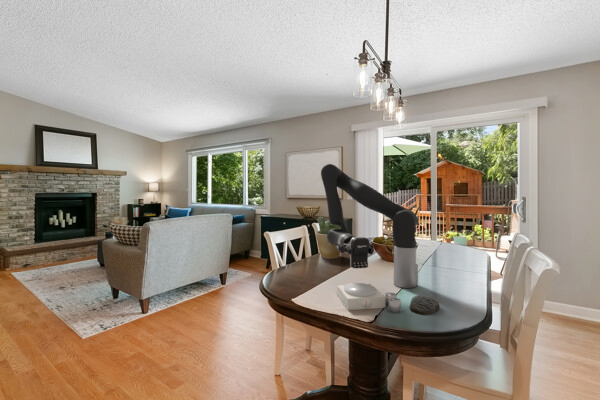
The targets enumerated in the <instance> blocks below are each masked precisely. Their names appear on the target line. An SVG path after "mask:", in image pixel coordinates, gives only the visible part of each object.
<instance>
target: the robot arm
mask: <svg viewBox="0 0 600 400" xmlns="http://www.w3.org/2000/svg"><path fill="white" fill-rule="evenodd" d="M320 170H321V171H320V176H321V177H320V178H321V180H322V183H323V187H324V192H325V197H326V201H327V202H326V203H327V210H328V211H327V212H328V221H329V222H330V224H333V225H338V226H339V227H340V229H333V230H330V231H329V232H328V234H327V239H328V241H329V243H330V244H332V245H336V246H337V250H338V251H339V252H341V253H340V254H343V253H345V254H349V256H350V255H353V249H352V248H350V241H351V239H352V238H354V237H356V236H355V235H352V234H351V233H349V230H348V228H347V225H346V223H345V220H344V212H343V205H342V201H341V198H340V196H339V191H338V188H339V189H340V190H342V191H344V192H345V193H347V195H349V196H350V197H351V198H352V199H353V200H354V201H355V202H357V203H358V204H360V205H362V206H364V208H367V209H368V210H371V211H374V212H376V213H378V214H380V215H381V214H382V215H384V216H385V217H387V218H388V219H390V220H391V221H392V240H393V285H394V286H397V287H399V288H405V289H411V288H416V287H418V286H419V283H418V282H419V280H418V279H419V265H418V264H417V241H416V226H417V225H418V222H419V221H418V220H419V218H418V216H417V214H416V213H415V212H414V211H412V210H411V209H409V208H406V207H404V206H401V204H398V203H396V202H395V201H392V200H391V199H390V198H388V197H386V196H385V195H384V194H382V193H381V192H379V191H378V190H376V189H374V188H373V187H371V186H369V185H368V184H366V183H364V182H361V181H360V180H356V179H353V178H352V177H350V176H349V175H347V174H346V173H345V172H344V171H342V169H341V168H339V167H338V166H336V165H335V164H332V163H327V164H325V165H324V166H323V167H322V168H321V169H320ZM369 245H370V251H369V252H368V255H369V254H370V255H373V254H374V252H375V250H374V249H375V245H374V244H372V243H371V242H369Z"/></svg>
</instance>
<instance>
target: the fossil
mask: <svg viewBox="0 0 600 400" xmlns="http://www.w3.org/2000/svg"><path fill="white" fill-rule="evenodd" d="M408 309H409V311H411V312H412V313H414V314H417V315H422V316H432V315H435V314H436V312H438V311H439V310H440V303H439V301H438V300H437V299H435V298H434V297H431V296H429V295H427V294H417V295H414V296H412V298H411V300H410V304H409V308H408Z"/></svg>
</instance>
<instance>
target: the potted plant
mask: <svg viewBox="0 0 600 400" xmlns="http://www.w3.org/2000/svg"><path fill="white" fill-rule="evenodd" d="M317 224H318V227H319V230H318V231H316V232H315V236H316V237H315V238H316V242H317V246H318V250H319V253H320V256H321V257H322V258H323V259H326V260H327V259H328V260H333V259H334V260H335V259H339V258H340V255H341V254H342V253H341V252H339V251H338V250H337V246H336V245H332V244H330V243H329V241H328V239H327V234H328V232H329V231H330V230H333V229H340V227H339V226H338V225H333V224H330V222H329V220H325V219H324V217H323V216H319V217H318V218H317Z"/></svg>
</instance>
